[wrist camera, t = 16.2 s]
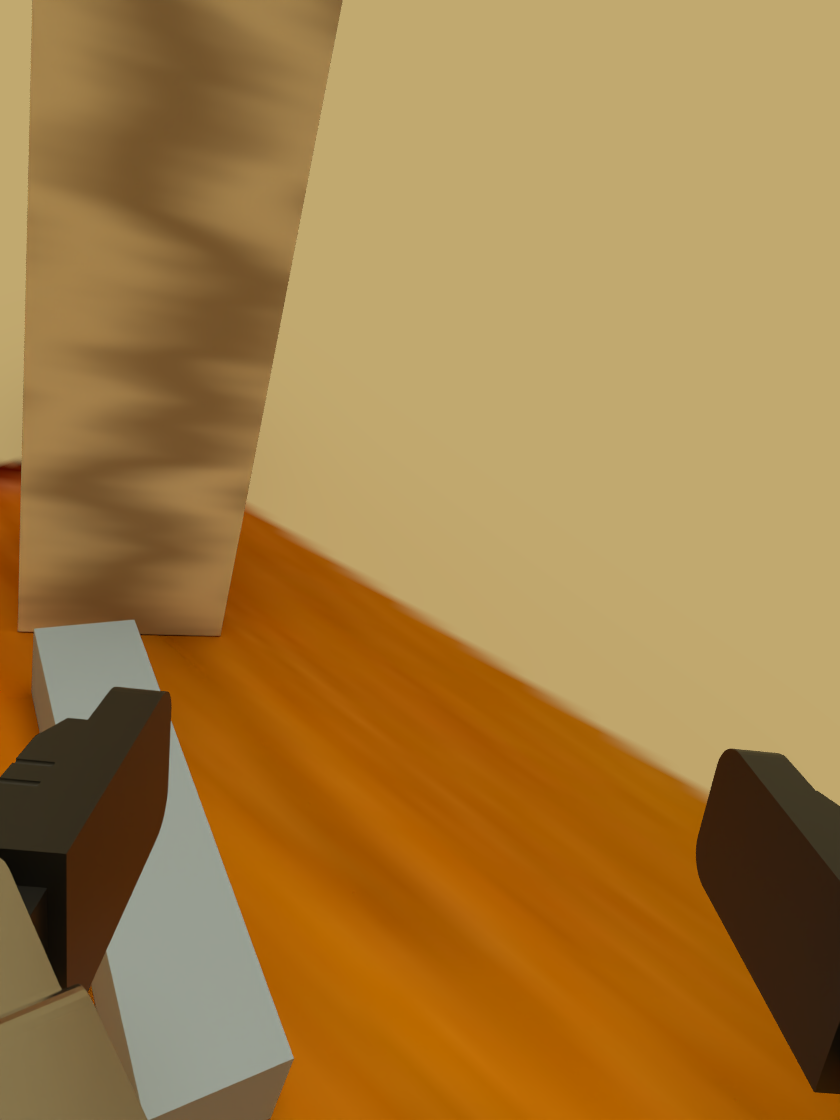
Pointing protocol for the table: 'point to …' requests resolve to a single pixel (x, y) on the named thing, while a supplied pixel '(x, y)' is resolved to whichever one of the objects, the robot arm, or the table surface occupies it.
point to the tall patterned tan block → (156, 292)
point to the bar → (170, 922)
